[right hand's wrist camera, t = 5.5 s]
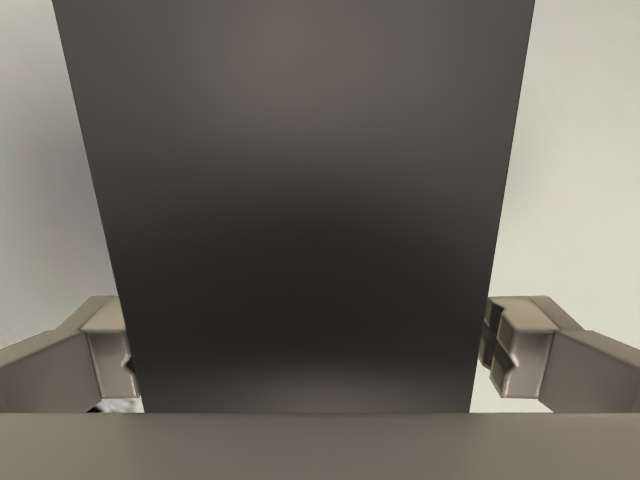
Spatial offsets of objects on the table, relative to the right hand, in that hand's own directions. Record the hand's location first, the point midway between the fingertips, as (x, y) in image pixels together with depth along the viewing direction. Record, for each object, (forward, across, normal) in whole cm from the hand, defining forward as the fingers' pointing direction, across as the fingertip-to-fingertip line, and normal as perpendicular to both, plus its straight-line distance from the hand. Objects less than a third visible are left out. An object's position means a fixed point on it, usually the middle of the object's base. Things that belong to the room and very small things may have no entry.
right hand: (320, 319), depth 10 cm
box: (+8, 0, -9) cm, 12 cm away
